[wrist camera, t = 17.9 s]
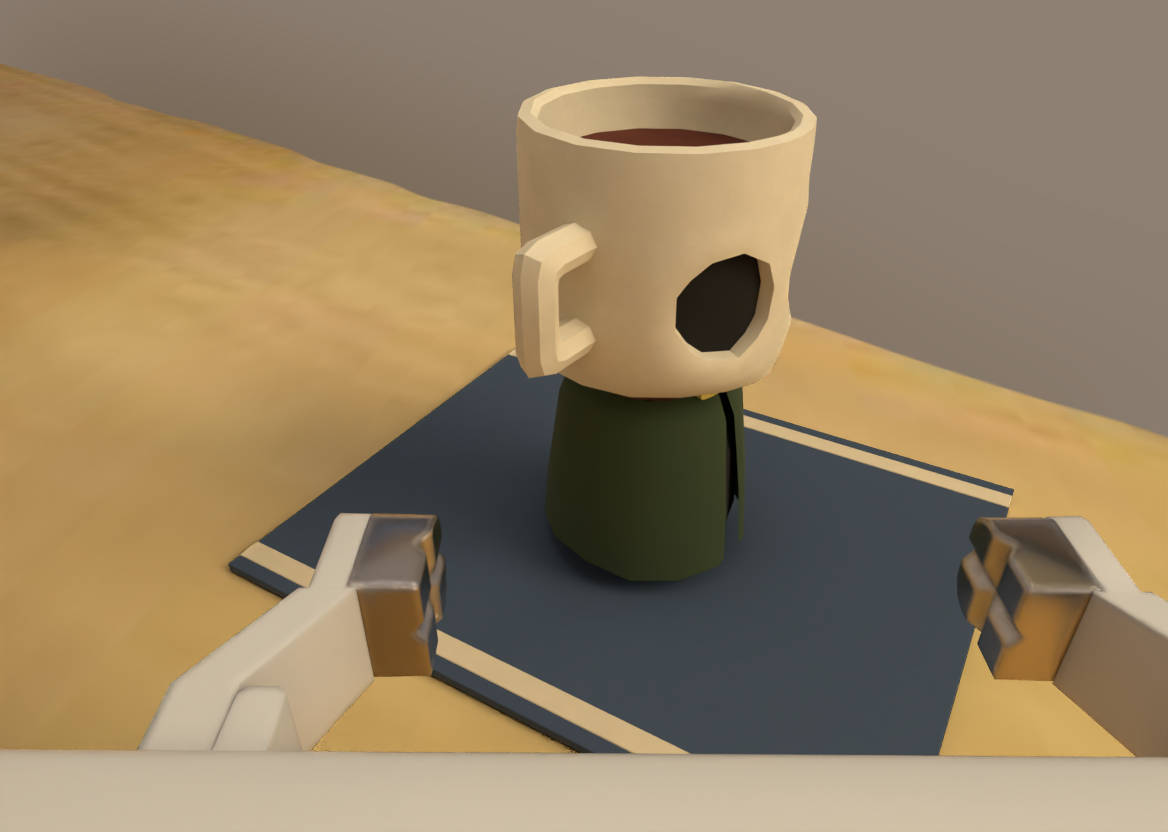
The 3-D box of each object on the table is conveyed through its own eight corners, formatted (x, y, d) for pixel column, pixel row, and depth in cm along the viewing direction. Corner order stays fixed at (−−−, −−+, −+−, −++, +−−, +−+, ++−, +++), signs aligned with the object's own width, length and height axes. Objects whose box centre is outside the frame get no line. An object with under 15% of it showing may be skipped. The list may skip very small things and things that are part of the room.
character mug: (643, 693, 22) (671, 203, 15) (443, 575, 26) (389, 134, 19) (819, 483, 30) (896, 84, 22) (645, 413, 33) (661, 51, 26)
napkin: (229, 570, 26) (227, 562, 26) (523, 349, 38) (522, 342, 38) (892, 915, 18) (895, 906, 18) (1011, 496, 29) (1014, 488, 29)
